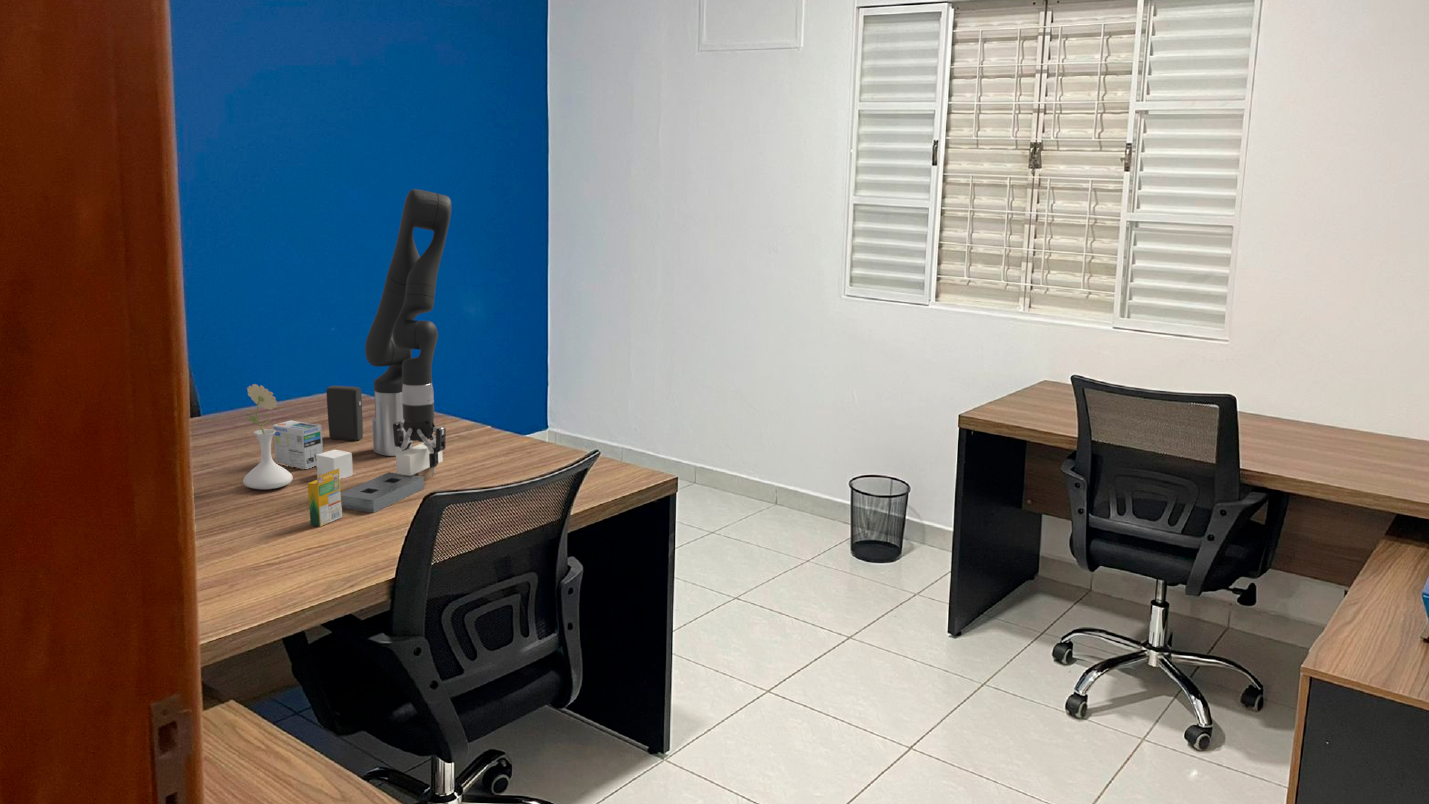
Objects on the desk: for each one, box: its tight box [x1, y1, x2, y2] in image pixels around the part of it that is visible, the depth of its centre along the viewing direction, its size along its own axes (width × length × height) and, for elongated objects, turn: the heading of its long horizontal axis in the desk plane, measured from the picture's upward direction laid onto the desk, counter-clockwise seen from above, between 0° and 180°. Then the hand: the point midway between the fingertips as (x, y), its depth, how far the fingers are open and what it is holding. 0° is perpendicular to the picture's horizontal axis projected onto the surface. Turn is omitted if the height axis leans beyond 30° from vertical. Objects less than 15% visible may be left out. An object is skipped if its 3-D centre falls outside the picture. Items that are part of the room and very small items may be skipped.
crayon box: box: [307, 468, 343, 528], centre depth 254 cm, size 7×3×12 cm, turn 157°
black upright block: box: [325, 385, 364, 441], centre depth 322 cm, size 9×4×15 cm, turn 80°
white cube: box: [316, 449, 354, 480], centre depth 288 cm, size 6×6×6 cm
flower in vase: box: [242, 383, 294, 490], centre depth 277 cm, size 13×11×25 cm
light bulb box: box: [272, 419, 324, 470], centre depth 297 cm, size 11×7×11 cm, turn 65°
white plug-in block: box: [395, 439, 444, 476], centre depth 286 cm, size 14×4×9 cm, turn 160°
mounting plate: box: [341, 472, 425, 514], centre depth 272 cm, size 20×10×3 cm, turn 160°
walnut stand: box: [414, 467, 433, 482], centre depth 287 cm, size 6×3×3 cm, turn 160°
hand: (420, 465), depth 286 cm, fingers open, 7 cm apart
